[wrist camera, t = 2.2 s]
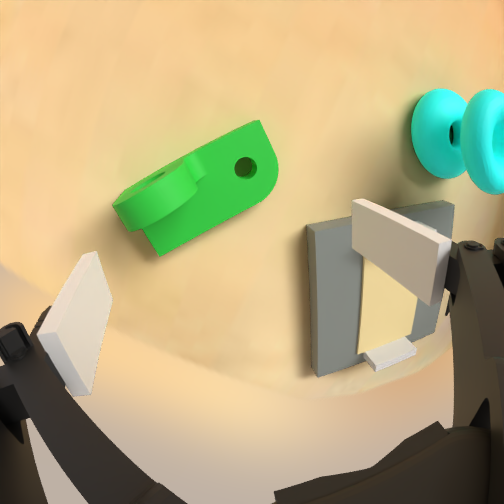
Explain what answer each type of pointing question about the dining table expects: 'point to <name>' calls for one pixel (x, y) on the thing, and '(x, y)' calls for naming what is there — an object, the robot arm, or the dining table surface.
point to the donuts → (461, 136)
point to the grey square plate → (365, 297)
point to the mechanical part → (200, 189)
